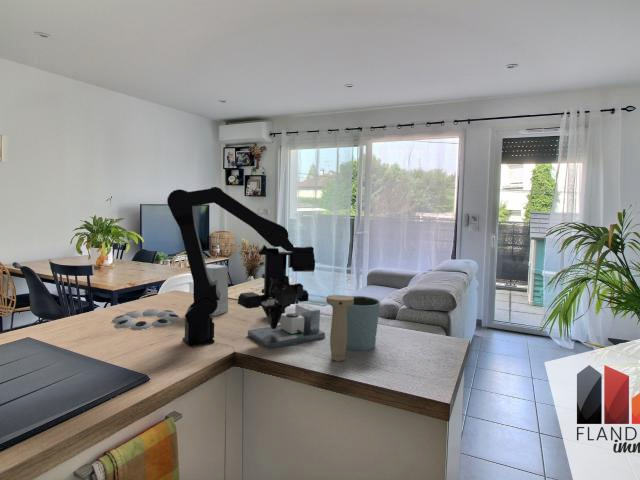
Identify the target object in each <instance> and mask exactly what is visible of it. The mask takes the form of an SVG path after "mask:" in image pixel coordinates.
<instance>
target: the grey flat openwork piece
mask: <svg viewBox="0 0 640 480" xmlns="http://www.w3.org/2000/svg"><path fill="white" fill-rule="evenodd" d="M142 316H143V317H156V318H158V319H155V320H154V321H152V322H151V323H150V322H149V321H146V320H140V321H137V322H135V321H134V319H139V318H138V317H140V318H143V317H142ZM132 318H134V319H132ZM181 319H182V318H181V317H180V316H179V315H178V314H177V313H176V312H175V311H174V310H167V309H165V310H161V311H160V310H159V309H156V308H155V309H151V308H149V309H145V310H144V311H142V312H141V311H138V310H134V311H128V312H126V313H125V314H122V315H119V316H115V317H114V318H112V320H111V321H112V322H113V323H112V322H111V323H112V324H114V325H113V328H114V327H115V329H119V328H124V329H130V330H132V329H134V330H133V331H143V330H142V329H146V330H148V329H147V328H150V327H152V326H154V327H152V328H166V326H167V327H169V326H171V325H172V324H173V323H175V322H179V321H181ZM132 320H133V321H132ZM115 323H116V324H115ZM120 323H121V324H120ZM138 324H141V325H138ZM129 327H131V328H129ZM150 329H151V328H150Z"/></svg>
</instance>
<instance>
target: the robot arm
mask: <svg viewBox="0 0 640 480" xmlns="http://www.w3.org/2000/svg"><path fill="white" fill-rule="evenodd" d="M166 201H167V202H166V203H167V206H168V207H169V208H168V209H169V210H170V213H171V214H172V217H173V219H174V221H175V222H176V224H177V226H178V227H179V230H180V235H181V238H182V242H183V247H184V250H185V253H186V254H185V255H186V259H187V261H188V265H189V270H190V274H191V276H192V282H193V285H192V290H193V291H192V293H193V303H191V304H190V305H189V307H188V308H187V311H186V313H185V315H184V337H182V341H183V342H184V343H185V344H186V345H187V346H188V347H197V346H201V345H203V346H204V345H208V344H214V343H215V323H214V322H213V317H212V316H211V315H210V314H212V313H214V312H215V310H216V309H217V306H218V301H219V300H220V296H221V293H220V292H219V290H218V283H217V280H216V281H214V282H212V281H211V279H210V277H209V275H208V272H207V268H206V265H207V264H206V261H205V257H204V256H205V255H204V253H203V248H202V243H201V239H200V237H199V232H198V228H197V224H196V223H197V222H196V221H197V220H196V217H197V216H196V215H197V214H196V212H197V211H196V207H198V206H199V207H200V206H203V205H209V204H216V205H217V206H219V207H220V208H222V209H224V210H225V211H226V212H228V213H230V214H231V215H232V216H234V217H236V219H239V220H240V221H242V222H243V223H245V224H246V225H248V226H249V227H251V228H252V229H253V230H254V231H256V233H258V235H259V236H260V237H262V238H263V240H265V241H266V242H267V243H268V244H269V245H270V246H272V247H267V246H266V244H263V246H262V247H261V248H259V250H257V254H258V255H260V256H264V273H262V274H261V278H262V279H263V288H262V289H261V293H262V294H258V293H255V292H254V291H252V292H251V291H249V292H241V293H240V294H239V295H238V297H237V304H238V305H240V306H241V307H244V308H245V309H255V308H260V307H262V310H263V311H264V313H265V316H266V318H267V322H268V323H269V327H271V328H272V329H276V327H277V325H279V324H278V323H279V321H280V320H281V314H282V312H283V310H284V309H285V310H286V309H287V308H288V307H290V306H291V305H296V303H297V301H298V302H300V303H302V302H303V303H304V302H308V301H309V292H308V290H306V289H304V285H303V284H302V283H294V284H290V278H289V275H287V266H288V268H289V269H291V271H292V272H294V273H295V272H298V273H299V272H300V273H301V272H303V273H304V272H307V273H308V272H309V273H314V272H315V268H316V259H315V252H314V251H315V250H314V247H313V246H294V244H293V243H292V242H291V241H290V239H289V232H288V229H287V228H285V227H284V226H283V225H282V224H279V223H276V222H274V221H272V220H270V219H269V218H265V217H263V216H261V215H259V214H258V213H256V212H254V211H253V210H251V209H250V208H249V207H247V206H246V205H244V204H242V203H241V202H240V201H238V200H236V199H235V198H234V197H232V196H230V195H229V194H228V193H226V192H225V191H223V189H221V188H220V187H218V186H213V187H210V188H206V189H200V190H199V189H198V190H193V191H188V190H184V189H175V190H173V191H171V192H170V193H169V195H168V196H167V200H166ZM279 248H282V249H283V250H284V251H280V250H279ZM287 258H288V259H287Z"/></svg>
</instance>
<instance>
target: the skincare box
mask: <svg viewBox="0 0 640 480" xmlns="http://www.w3.org/2000/svg"><path fill="white" fill-rule="evenodd" d="M206 268H207V272H208V275H209V277H210V279H211V281H212V282H214V281H216V280H217V283H218V290H219V292H220V293H221V296H220V300H219V301H218V306H217V309H216V310H215V312H214V313H212V314H210V315H209V316H215V317H216V316H219V314H220V315H223V314H226V313H228V312H229V286H228V285H229V280H228V278H229V275H228V273H229V272H228V270H229V269H228V268H229V267H228V265H220V264H213V263H212V264H211V263H208V264H206Z"/></svg>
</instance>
